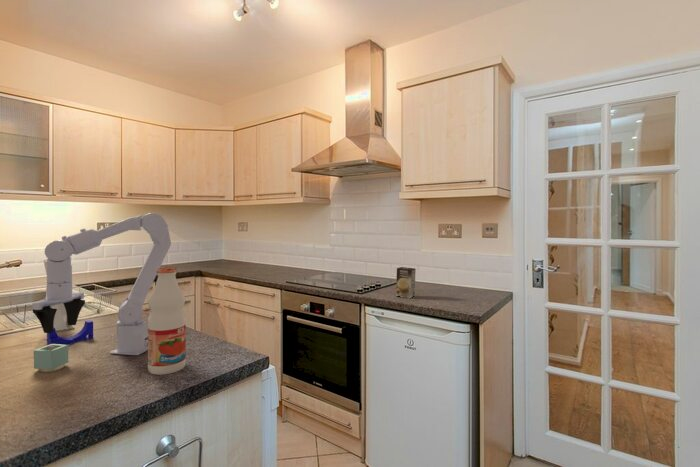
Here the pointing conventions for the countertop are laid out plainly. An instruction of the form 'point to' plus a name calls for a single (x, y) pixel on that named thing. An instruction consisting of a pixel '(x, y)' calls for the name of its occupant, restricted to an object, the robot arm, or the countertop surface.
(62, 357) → the green hollow cube
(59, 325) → the skyscraper
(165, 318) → the fruit juice
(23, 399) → the countertop surface
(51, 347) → the spindle
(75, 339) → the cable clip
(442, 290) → the countertop surface
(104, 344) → the countertop surface
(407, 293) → the coffee box
